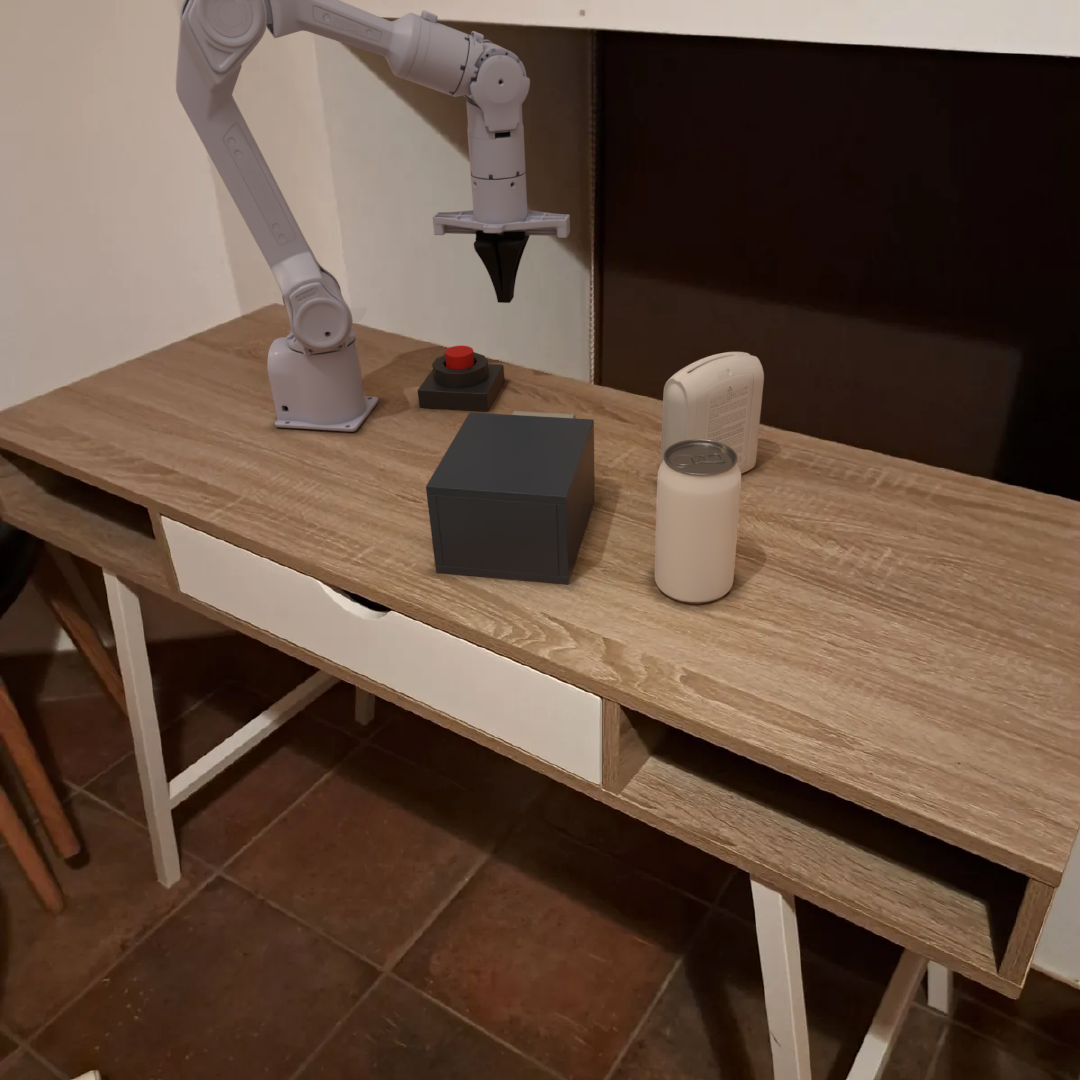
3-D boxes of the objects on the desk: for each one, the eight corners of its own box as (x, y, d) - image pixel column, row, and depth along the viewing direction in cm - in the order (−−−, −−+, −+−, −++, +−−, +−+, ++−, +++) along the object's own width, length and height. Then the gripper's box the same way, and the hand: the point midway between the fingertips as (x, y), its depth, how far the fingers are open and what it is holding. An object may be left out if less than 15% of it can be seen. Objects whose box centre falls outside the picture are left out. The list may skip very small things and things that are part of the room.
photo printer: (732, 452, 102) (741, 336, 96) (762, 468, 99) (773, 350, 92) (652, 483, 98) (655, 364, 91) (681, 501, 95) (687, 380, 88)
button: (442, 370, 113) (441, 355, 112) (450, 359, 116) (449, 344, 115) (470, 371, 113) (469, 357, 112) (477, 360, 115) (476, 345, 114)
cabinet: (476, 492, 98) (469, 412, 93) (594, 501, 95) (593, 419, 91) (435, 572, 87) (425, 486, 82) (568, 584, 84) (566, 496, 80)
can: (648, 564, 86) (651, 439, 80) (722, 557, 87) (731, 433, 80) (662, 609, 81) (666, 480, 74) (741, 603, 81) (753, 473, 75)
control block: (419, 407, 114) (415, 375, 112) (439, 378, 120) (436, 346, 118) (488, 411, 112) (485, 378, 110) (504, 381, 119) (502, 349, 117)
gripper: (419, 182, 103) (432, 310, 110) (559, 183, 100) (563, 315, 107) (439, 165, 108) (450, 288, 116) (572, 166, 106) (575, 292, 113)
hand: (505, 299), depth 112 cm, fingers closed
